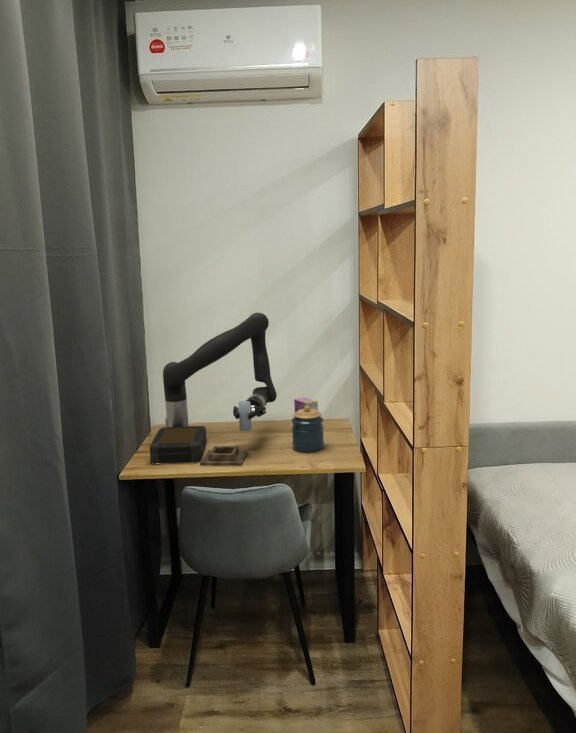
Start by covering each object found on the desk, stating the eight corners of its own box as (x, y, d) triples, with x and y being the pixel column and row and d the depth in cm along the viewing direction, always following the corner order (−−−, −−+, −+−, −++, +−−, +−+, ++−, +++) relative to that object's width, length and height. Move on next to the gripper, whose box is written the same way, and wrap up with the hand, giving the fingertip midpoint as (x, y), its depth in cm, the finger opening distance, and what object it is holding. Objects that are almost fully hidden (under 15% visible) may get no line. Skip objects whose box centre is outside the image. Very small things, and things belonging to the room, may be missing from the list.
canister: (322, 453, 241) (321, 410, 238) (290, 452, 243) (288, 410, 240) (325, 442, 254) (324, 401, 250) (295, 441, 256) (293, 401, 252)
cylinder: (238, 431, 238) (236, 404, 236) (241, 427, 242) (240, 400, 240) (249, 431, 237) (248, 404, 235) (252, 427, 241) (251, 401, 239)
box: (294, 423, 281) (293, 398, 279) (304, 421, 285) (303, 396, 282) (308, 428, 273) (308, 403, 271) (318, 426, 277) (317, 400, 274)
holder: (200, 465, 232) (199, 456, 232) (208, 453, 246) (207, 444, 245) (241, 465, 231) (240, 456, 230) (247, 453, 244) (247, 444, 243)
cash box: (159, 444, 260) (158, 427, 258) (207, 442, 260) (206, 425, 259) (148, 465, 235) (146, 446, 234) (201, 463, 236) (199, 444, 234)
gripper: (237, 395, 253) (224, 407, 236) (270, 396, 250) (260, 407, 233) (238, 413, 254) (225, 425, 238) (271, 414, 251) (261, 426, 235)
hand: (243, 416), depth 236 cm, fingers closed on cylinder, 4 cm apart
